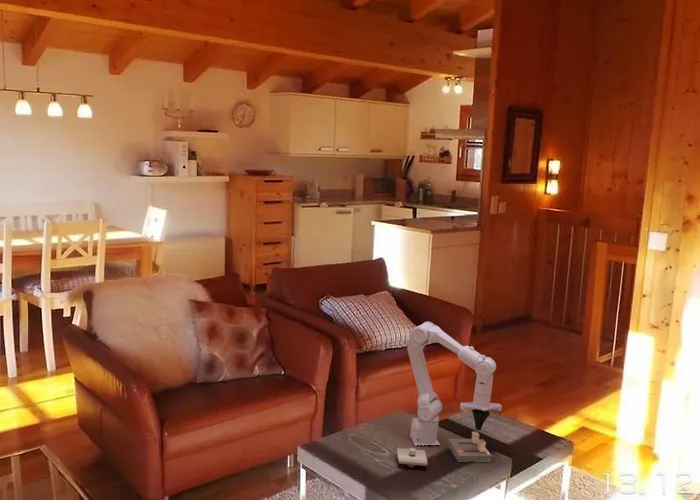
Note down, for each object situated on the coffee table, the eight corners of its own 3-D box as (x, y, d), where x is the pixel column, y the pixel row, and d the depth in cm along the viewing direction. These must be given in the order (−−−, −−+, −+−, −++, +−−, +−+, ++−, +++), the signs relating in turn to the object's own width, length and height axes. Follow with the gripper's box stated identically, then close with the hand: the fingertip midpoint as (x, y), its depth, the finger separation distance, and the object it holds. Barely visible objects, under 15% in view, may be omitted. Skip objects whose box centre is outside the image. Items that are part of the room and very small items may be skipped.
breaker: (473, 444, 235) (474, 435, 234) (471, 440, 237) (472, 431, 237) (478, 444, 235) (479, 435, 234) (475, 440, 237) (476, 431, 237)
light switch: (423, 457, 228) (425, 443, 227) (427, 471, 218) (428, 457, 217) (395, 455, 227) (397, 441, 227) (398, 469, 218) (399, 454, 217)
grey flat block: (458, 462, 226) (459, 455, 225) (447, 445, 238) (447, 438, 238) (491, 462, 228) (492, 455, 227) (478, 445, 240) (478, 438, 240)
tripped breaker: (479, 452, 229) (481, 442, 228) (477, 448, 231) (478, 439, 231) (484, 452, 229) (485, 442, 229) (482, 448, 232) (483, 439, 231)
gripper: (466, 396, 222) (462, 433, 225) (506, 397, 225) (501, 434, 227) (460, 388, 229) (455, 424, 231) (499, 389, 232) (494, 425, 234)
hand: (478, 429), depth 230 cm, fingers closed
